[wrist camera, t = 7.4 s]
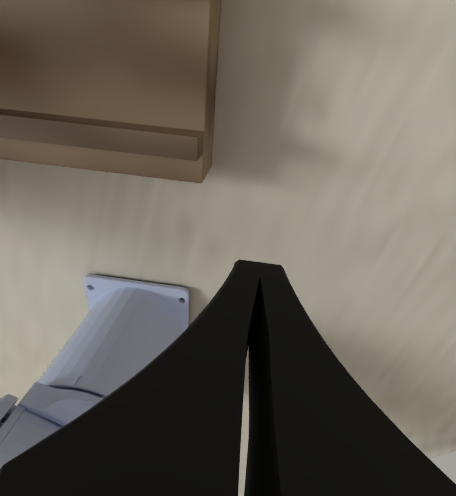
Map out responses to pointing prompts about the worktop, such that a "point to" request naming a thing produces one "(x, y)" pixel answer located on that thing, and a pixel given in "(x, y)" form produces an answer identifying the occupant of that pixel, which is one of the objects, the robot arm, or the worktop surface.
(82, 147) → the brown wooden moulding block
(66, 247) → the worktop surface
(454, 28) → the worktop surface
